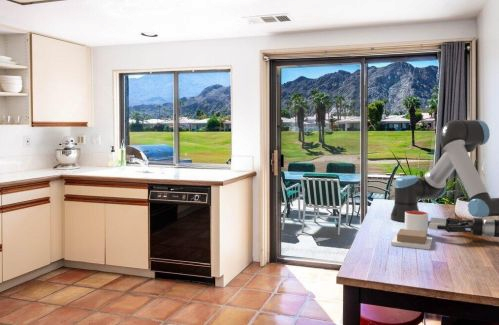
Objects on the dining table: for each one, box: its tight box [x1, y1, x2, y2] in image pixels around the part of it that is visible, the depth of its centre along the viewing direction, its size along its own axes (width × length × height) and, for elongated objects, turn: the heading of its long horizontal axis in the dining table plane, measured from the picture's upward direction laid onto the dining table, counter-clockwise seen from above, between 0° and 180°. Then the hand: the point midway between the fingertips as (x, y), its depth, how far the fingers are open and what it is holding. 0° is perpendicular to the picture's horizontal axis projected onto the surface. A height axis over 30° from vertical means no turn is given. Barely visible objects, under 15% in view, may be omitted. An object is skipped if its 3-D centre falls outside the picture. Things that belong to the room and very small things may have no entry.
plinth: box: [390, 228, 433, 251], centre depth 188 cm, size 15×15×4 cm
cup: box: [404, 210, 429, 234], centre depth 204 cm, size 10×10×10 cm
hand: (429, 222), depth 201 cm, fingers open, 13 cm apart
